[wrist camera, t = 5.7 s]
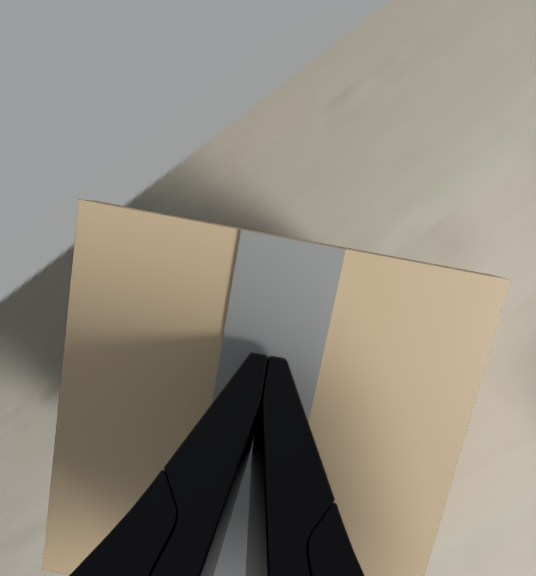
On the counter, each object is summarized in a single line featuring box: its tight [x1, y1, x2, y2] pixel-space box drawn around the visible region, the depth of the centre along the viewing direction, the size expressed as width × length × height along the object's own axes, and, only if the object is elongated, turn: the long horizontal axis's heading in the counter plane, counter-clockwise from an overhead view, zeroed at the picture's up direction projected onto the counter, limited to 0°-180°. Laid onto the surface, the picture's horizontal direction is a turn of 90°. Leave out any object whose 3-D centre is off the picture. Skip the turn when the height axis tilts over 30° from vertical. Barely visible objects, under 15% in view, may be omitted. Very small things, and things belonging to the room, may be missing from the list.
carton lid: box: [42, 200, 510, 576], centre depth 10 cm, size 10×10×1 cm
